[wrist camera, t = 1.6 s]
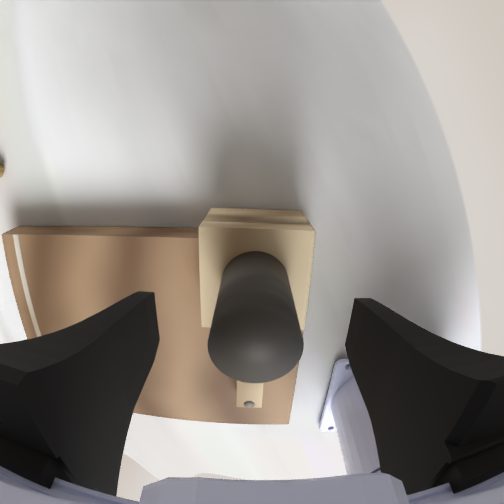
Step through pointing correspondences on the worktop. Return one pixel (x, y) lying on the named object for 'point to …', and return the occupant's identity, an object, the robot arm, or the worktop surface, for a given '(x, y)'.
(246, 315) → the rubber stamp
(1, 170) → the gavel
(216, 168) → the worktop surface
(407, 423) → the robot arm
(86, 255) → the board
